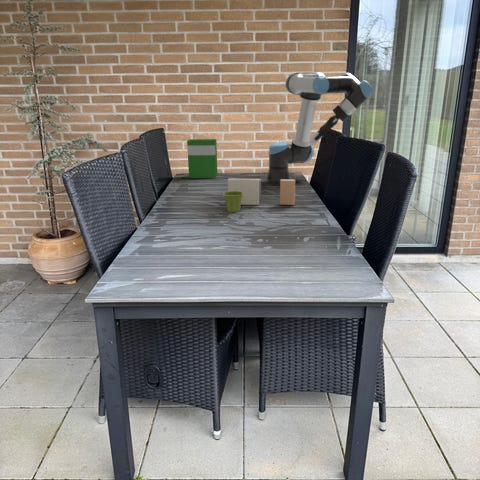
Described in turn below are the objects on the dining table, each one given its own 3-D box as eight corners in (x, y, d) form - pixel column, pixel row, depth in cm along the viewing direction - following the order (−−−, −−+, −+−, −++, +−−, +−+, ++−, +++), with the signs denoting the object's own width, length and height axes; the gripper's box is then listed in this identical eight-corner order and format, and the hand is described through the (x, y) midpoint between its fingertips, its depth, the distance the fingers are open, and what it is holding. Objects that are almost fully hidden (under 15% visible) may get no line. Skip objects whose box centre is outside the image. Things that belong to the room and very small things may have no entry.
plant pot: (220, 212, 212) (219, 194, 209) (229, 207, 220) (229, 190, 217) (237, 214, 208) (237, 196, 205) (246, 209, 216) (246, 192, 213)
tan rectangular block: (280, 202, 224) (280, 179, 220) (294, 203, 223) (295, 179, 219) (280, 204, 222) (280, 180, 218) (294, 204, 220) (294, 180, 216)
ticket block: (229, 202, 229) (229, 178, 225) (261, 203, 226) (261, 178, 222) (228, 204, 226) (227, 179, 222) (260, 204, 223) (260, 180, 219)
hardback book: (217, 176, 294) (216, 139, 287) (216, 178, 287) (214, 140, 280) (191, 176, 296) (189, 139, 288) (189, 178, 289) (186, 140, 281)
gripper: (351, 118, 198) (315, 152, 205) (348, 114, 221) (316, 144, 229) (339, 105, 197) (303, 140, 205) (337, 103, 220) (306, 134, 228)
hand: (310, 142), depth 217 cm, fingers open, 13 cm apart
